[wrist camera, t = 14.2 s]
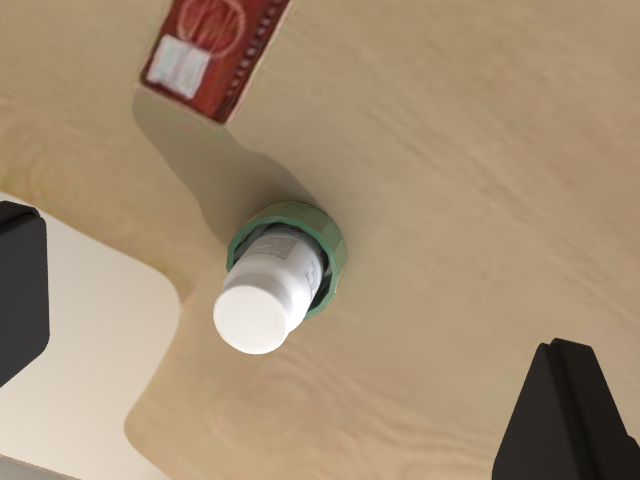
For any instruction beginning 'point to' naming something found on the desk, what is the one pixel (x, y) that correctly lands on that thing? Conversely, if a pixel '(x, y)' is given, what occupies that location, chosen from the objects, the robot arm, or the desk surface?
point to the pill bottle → (270, 289)
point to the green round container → (309, 222)
